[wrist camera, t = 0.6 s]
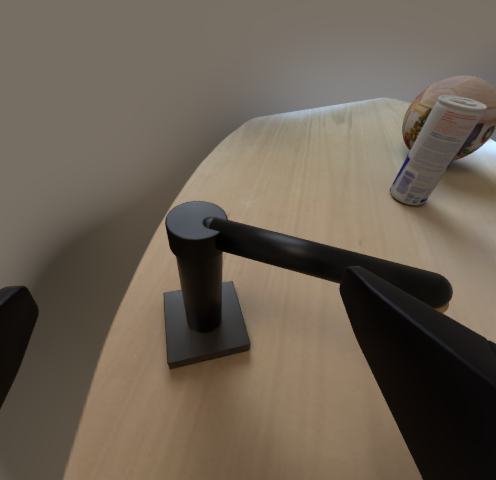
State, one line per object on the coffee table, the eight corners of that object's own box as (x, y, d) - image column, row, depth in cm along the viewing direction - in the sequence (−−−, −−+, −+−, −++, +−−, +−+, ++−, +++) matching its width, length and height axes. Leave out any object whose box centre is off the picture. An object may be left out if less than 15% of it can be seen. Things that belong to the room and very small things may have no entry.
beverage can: (431, 206, 43) (499, 108, 32) (401, 208, 42) (461, 107, 32) (410, 187, 47) (465, 94, 36) (382, 188, 46) (430, 93, 35)
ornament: (393, 167, 52) (437, 80, 41) (386, 137, 62) (419, 62, 52) (476, 183, 50) (544, 96, 39) (454, 150, 60) (503, 74, 50)
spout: (167, 293, 20) (152, 227, 15) (189, 258, 22) (182, 192, 18) (407, 368, 17) (476, 316, 13) (400, 318, 20) (455, 259, 15)
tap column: (249, 349, 24) (263, 276, 16) (169, 369, 22) (144, 297, 15) (232, 287, 29) (237, 208, 21) (165, 299, 27) (144, 218, 20)
